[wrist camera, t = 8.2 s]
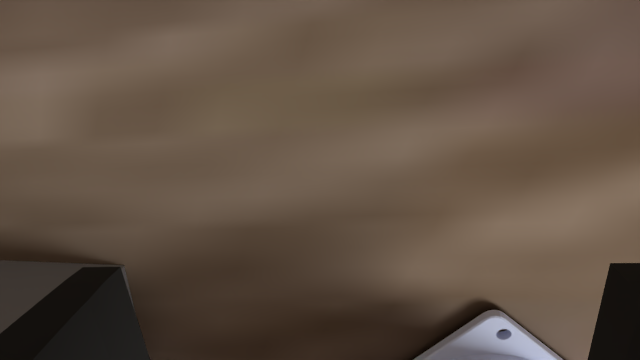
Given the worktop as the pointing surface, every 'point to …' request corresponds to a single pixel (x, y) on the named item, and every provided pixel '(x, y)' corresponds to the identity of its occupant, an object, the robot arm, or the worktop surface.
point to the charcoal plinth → (33, 285)
